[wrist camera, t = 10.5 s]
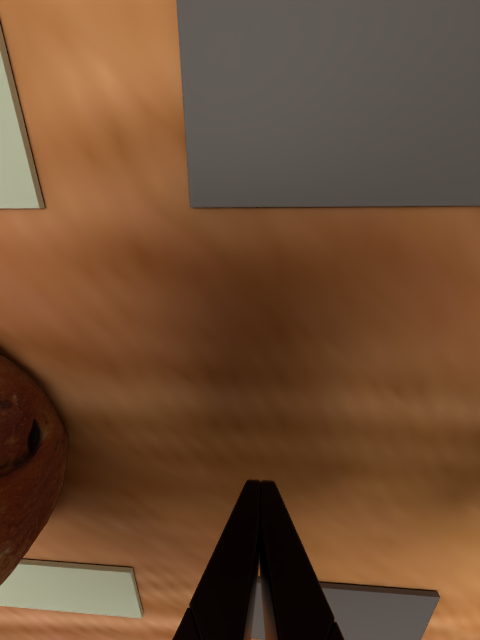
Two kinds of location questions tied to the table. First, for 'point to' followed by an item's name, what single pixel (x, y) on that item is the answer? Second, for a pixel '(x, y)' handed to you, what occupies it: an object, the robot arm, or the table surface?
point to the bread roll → (26, 463)
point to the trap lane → (295, 182)
